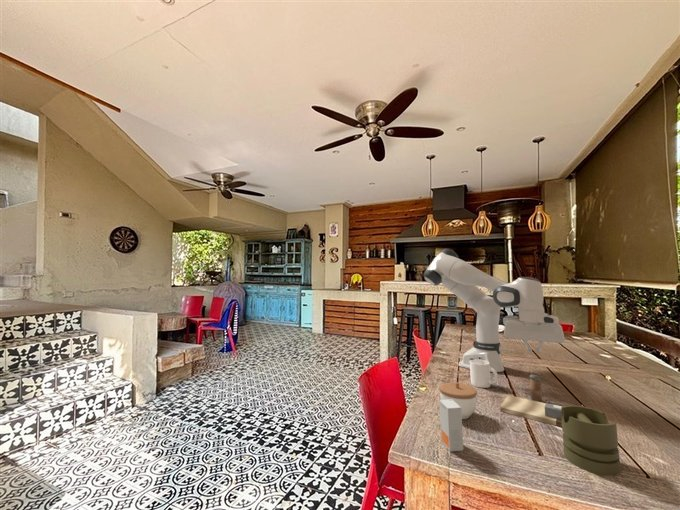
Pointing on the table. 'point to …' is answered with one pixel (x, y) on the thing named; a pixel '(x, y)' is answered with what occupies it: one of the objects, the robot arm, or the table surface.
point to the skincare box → (451, 425)
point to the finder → (553, 411)
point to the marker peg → (535, 388)
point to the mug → (481, 373)
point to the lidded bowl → (460, 396)
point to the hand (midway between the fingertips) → (533, 351)
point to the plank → (528, 410)
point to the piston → (590, 440)
